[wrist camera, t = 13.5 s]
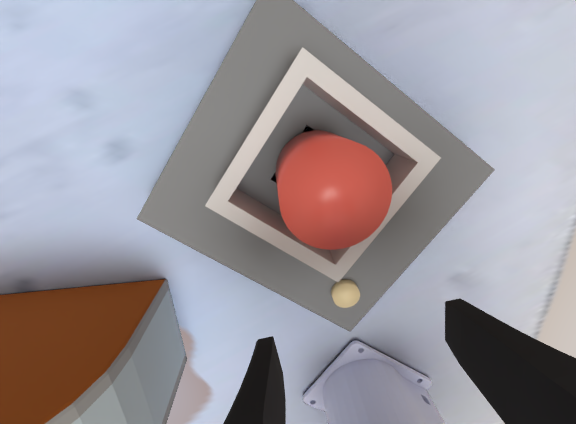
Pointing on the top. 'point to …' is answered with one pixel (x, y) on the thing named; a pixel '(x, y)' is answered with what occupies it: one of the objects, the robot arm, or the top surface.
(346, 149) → the cap
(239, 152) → the grey square socket base
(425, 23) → the top surface
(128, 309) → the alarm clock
